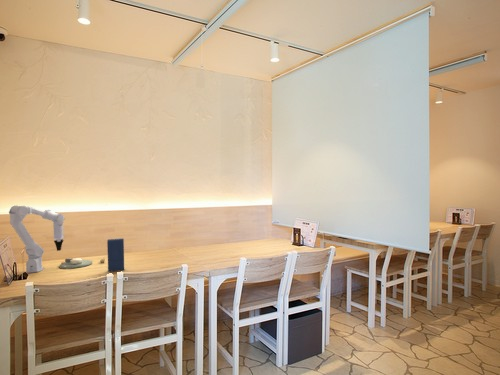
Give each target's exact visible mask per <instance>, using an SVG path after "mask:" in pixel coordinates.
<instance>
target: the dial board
mask: <svg viewBox="0 0 500 375" xmlns="http://www.w3.org/2000/svg"><path fill="white" fill-rule="evenodd" d="M92 264H93V260H90V259H82V263H80V264H70V263H65V261H62V262H61V264H60V263H59V266H58V267H59V269H61V270H62V269H64V270H72V269H80V268H85V267H89V266H92Z"/></svg>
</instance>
